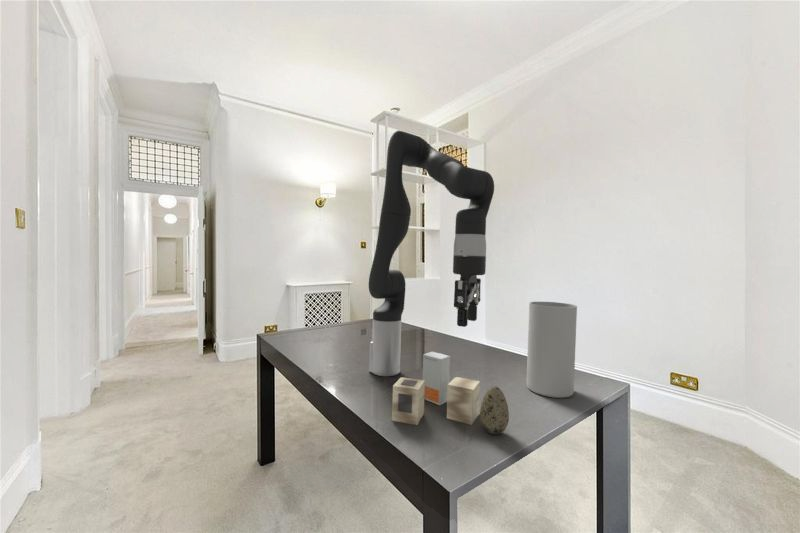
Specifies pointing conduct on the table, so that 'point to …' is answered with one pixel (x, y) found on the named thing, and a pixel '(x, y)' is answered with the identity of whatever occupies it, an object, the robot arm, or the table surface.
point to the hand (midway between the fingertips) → (467, 323)
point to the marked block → (408, 400)
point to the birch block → (463, 400)
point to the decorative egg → (494, 411)
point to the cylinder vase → (551, 348)
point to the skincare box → (436, 377)
